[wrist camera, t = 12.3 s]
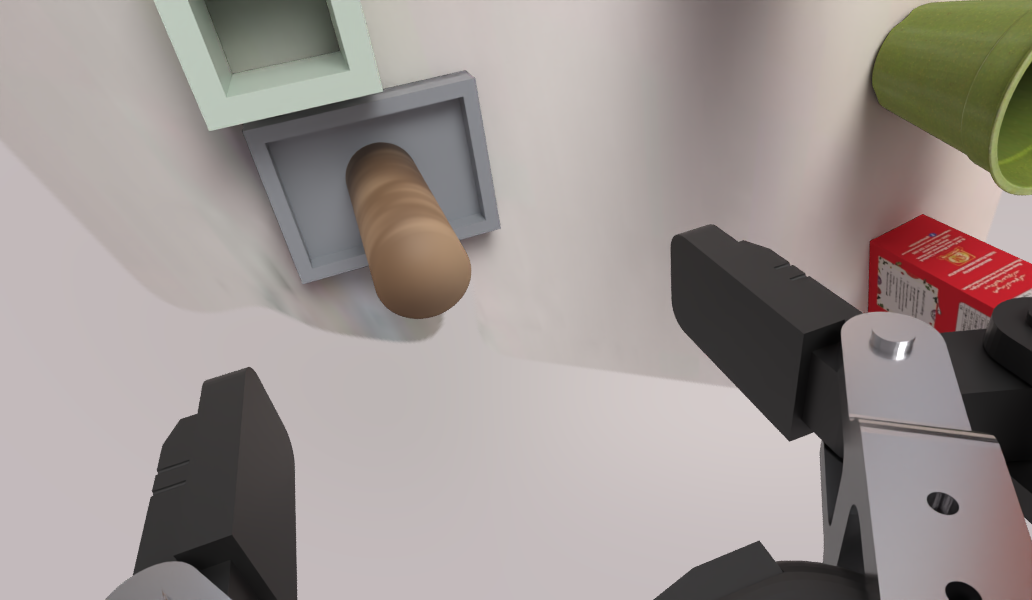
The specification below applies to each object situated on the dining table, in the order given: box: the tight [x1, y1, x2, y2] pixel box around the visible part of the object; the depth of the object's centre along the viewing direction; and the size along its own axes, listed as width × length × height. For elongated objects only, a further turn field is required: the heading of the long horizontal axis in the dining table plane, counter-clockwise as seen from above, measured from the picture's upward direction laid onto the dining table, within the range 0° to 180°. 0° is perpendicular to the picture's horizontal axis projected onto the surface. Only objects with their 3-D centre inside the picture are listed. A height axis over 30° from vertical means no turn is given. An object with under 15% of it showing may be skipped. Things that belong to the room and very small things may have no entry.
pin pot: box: [154, 0, 383, 131], centre depth 28 cm, size 8×8×5 cm
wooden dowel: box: [345, 142, 471, 319], centre depth 30 cm, size 4×4×12 cm
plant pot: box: [872, 0, 1032, 195], centre depth 39 cm, size 12×12×11 cm
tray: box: [242, 70, 501, 284], centre depth 35 cm, size 12×9×2 cm
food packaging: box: [868, 214, 1032, 333], centre depth 46 cm, size 15×5×25 cm, turn 19°
